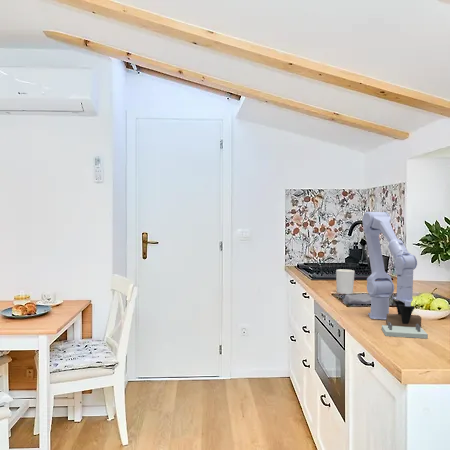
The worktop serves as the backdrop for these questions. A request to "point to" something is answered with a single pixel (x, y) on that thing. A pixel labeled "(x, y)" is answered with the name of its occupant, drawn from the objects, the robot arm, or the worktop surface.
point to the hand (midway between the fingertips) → (403, 321)
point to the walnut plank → (397, 320)
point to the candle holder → (345, 281)
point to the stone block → (358, 299)
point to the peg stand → (404, 331)
